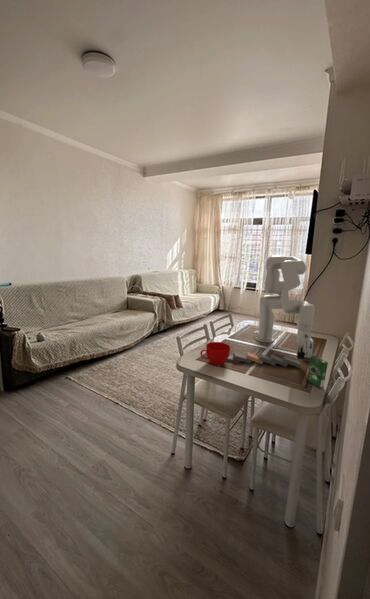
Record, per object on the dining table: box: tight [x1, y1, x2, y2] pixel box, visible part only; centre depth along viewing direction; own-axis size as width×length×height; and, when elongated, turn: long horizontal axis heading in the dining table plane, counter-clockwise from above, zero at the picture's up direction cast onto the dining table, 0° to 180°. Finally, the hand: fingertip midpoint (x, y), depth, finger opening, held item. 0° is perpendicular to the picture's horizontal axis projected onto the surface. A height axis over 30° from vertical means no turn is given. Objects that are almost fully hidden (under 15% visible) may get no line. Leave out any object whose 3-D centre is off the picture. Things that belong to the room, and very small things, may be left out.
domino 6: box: [281, 355, 302, 369], centre depth 155 cm, size 2×5×9 cm
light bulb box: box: [296, 337, 315, 359], centre depth 172 cm, size 11×7×11 cm, turn 168°
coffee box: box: [306, 355, 329, 389], centre depth 134 cm, size 8×3×13 cm, turn 22°
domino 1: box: [226, 355, 240, 363], centre depth 160 cm, size 2×5×9 cm
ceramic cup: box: [199, 341, 231, 367], centre depth 153 cm, size 13×17×10 cm
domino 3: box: [245, 351, 264, 365], centre depth 158 cm, size 2×5×9 cm
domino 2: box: [232, 351, 252, 364], centre depth 158 cm, size 2×5×9 cm
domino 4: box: [257, 352, 277, 367], centre depth 157 cm, size 2×5×9 cm
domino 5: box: [268, 353, 289, 368], centre depth 156 cm, size 2×5×9 cm
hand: (300, 358), depth 154 cm, fingers closed
